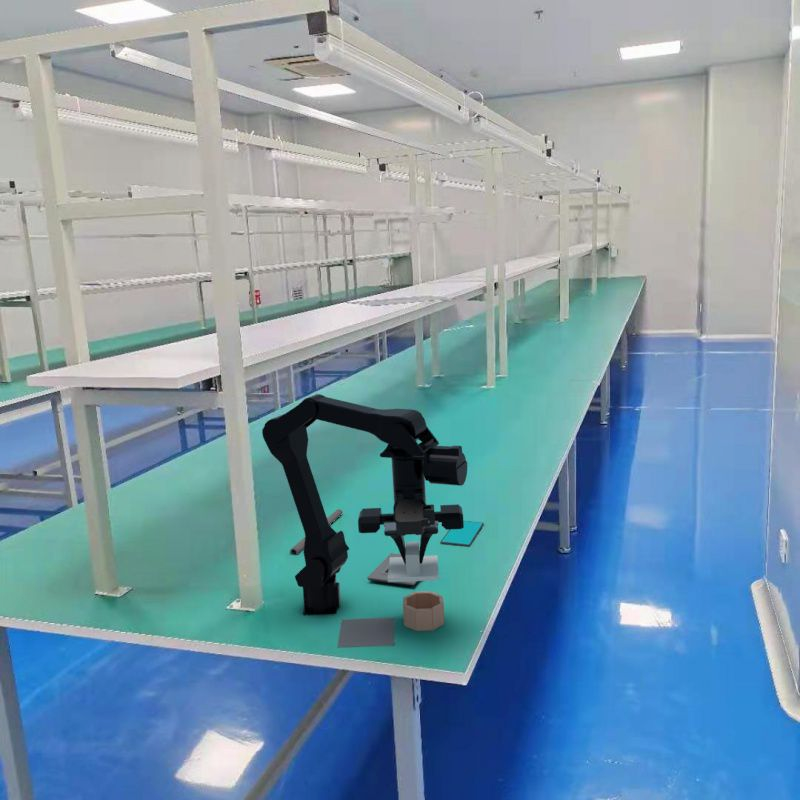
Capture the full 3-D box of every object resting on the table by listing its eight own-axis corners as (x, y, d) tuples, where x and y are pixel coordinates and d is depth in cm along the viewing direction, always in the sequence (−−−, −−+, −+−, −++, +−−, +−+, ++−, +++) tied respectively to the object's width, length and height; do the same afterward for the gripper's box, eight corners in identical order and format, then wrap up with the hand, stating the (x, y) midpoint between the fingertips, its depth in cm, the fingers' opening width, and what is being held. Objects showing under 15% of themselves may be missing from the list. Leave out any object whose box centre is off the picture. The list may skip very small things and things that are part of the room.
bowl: (404, 634, 132) (403, 611, 131) (403, 614, 139) (402, 592, 138) (445, 632, 132) (444, 609, 131) (442, 612, 139) (442, 590, 138)
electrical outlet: (414, 593, 148) (413, 582, 148) (367, 586, 152) (366, 576, 152) (435, 567, 160) (434, 557, 160) (391, 561, 164) (390, 551, 164)
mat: (337, 649, 127) (337, 647, 127) (341, 621, 137) (341, 619, 137) (394, 647, 127) (394, 645, 127) (394, 619, 137) (394, 617, 137)
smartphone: (439, 542, 172) (456, 520, 186) (440, 545, 172) (456, 523, 186) (470, 545, 169) (484, 522, 183) (470, 548, 170) (484, 525, 183)
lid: (388, 582, 128) (386, 559, 127) (390, 561, 137) (388, 539, 136) (438, 580, 128) (437, 557, 127) (437, 559, 137) (436, 537, 136)
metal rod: (290, 555, 170) (289, 547, 169) (336, 515, 195) (335, 508, 194) (297, 556, 169) (297, 548, 169) (342, 516, 194) (342, 509, 194)
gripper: (352, 498, 122) (358, 584, 125) (463, 493, 121) (467, 580, 124) (358, 478, 133) (363, 558, 136) (460, 473, 132) (463, 554, 135)
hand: (413, 563), depth 132 cm, fingers closed on lid, 2 cm apart
